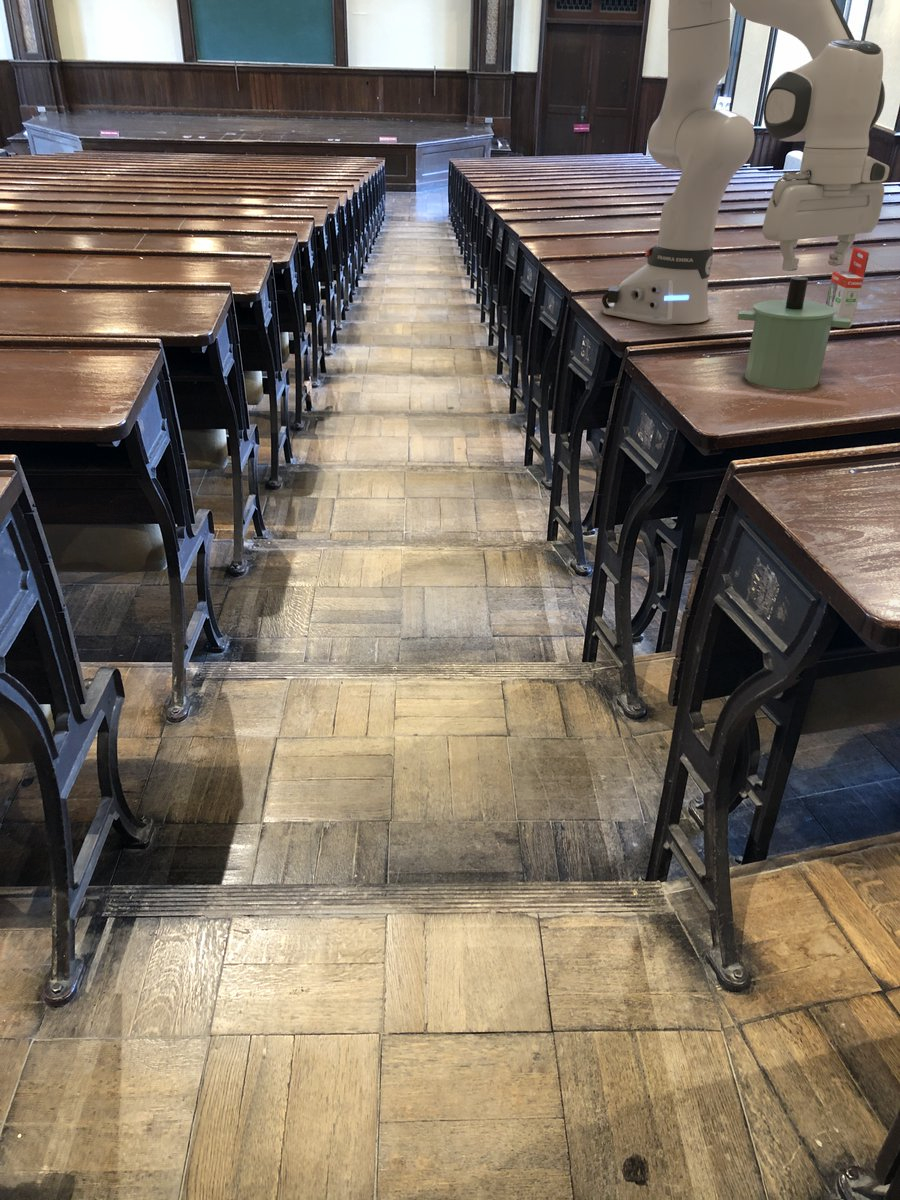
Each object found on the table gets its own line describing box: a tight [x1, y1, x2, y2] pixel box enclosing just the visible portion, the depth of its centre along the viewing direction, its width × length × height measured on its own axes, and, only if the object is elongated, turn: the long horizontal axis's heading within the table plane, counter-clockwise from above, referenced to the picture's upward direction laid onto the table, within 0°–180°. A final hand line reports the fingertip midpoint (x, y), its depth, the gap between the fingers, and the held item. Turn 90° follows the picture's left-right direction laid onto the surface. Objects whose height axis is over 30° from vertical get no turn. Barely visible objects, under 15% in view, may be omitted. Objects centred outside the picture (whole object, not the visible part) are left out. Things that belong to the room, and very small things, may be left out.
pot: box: [737, 310, 851, 390], centre depth 140 cm, size 12×17×12 cm
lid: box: [752, 276, 836, 320], centre depth 136 cm, size 12×12×6 cm
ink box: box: [825, 246, 870, 328], centre depth 177 cm, size 4×8×15 cm, turn 0°
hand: (812, 267), depth 134 cm, fingers open, 8 cm apart
